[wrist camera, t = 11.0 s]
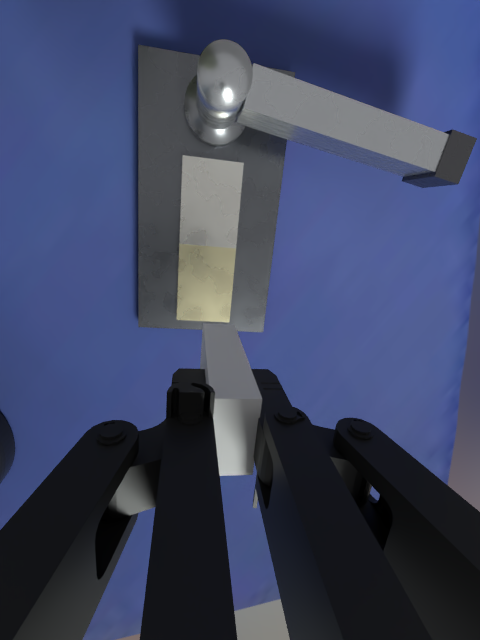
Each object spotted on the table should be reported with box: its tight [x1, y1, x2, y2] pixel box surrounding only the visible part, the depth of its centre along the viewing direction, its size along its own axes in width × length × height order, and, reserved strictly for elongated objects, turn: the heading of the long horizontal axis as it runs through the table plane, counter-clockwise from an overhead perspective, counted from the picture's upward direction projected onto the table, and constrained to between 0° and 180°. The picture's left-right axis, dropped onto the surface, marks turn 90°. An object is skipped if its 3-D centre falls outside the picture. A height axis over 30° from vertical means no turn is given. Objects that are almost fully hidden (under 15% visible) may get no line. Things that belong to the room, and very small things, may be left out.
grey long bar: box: [196, 39, 477, 188], centre depth 23 cm, size 19×3×6 cm, turn 76°
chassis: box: [138, 45, 295, 332], centre depth 28 cm, size 12×22×2 cm, turn 174°
